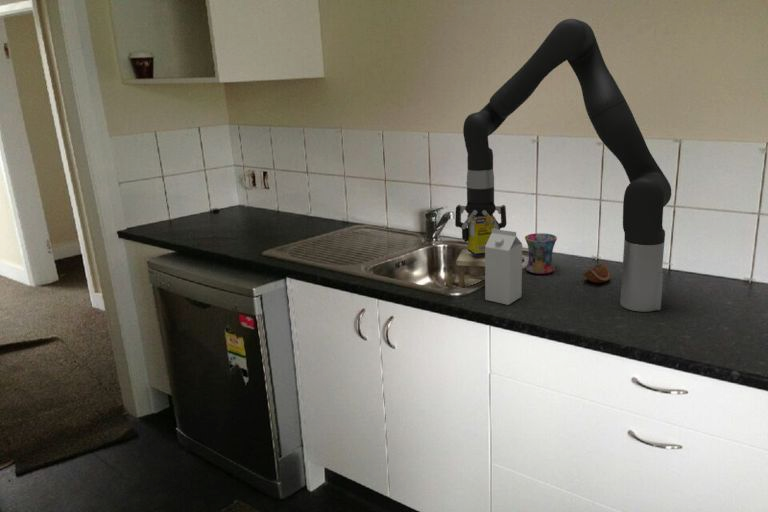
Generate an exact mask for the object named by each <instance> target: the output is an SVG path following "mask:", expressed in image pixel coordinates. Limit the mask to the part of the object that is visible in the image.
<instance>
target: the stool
mask: <svg viewBox="0 0 768 512" xmlns="http://www.w3.org/2000/svg"><path fill="white" fill-rule="evenodd" d="M456 266H458V288H465V279H467V280H470V279H471V280H485V274H470V269H480V270H481V269H483V270H485V255H480V256H475V255H474V254H472V253H471V252H469V251H468V248H462V250H461V251H460V253H459V255H458V257H457V259H456Z"/></svg>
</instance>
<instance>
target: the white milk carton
mask: <svg viewBox="0 0 768 512" xmlns="http://www.w3.org/2000/svg"><path fill="white" fill-rule="evenodd" d="M484 270H485V271H484V273H485V274H484V275H485V279H484V282H485V283H484V288H485V289H484V296H485V298H484V299H485V301H489V302H493V303H498V304H504V305H507V306H508V305H511V304H512V303H513V302H515V301H517V300H518V299H520V298H522V293H523V292H522V289H523V288H522V284H523V283H522V281H523V278H522V277H523V274H522V273H523V243H522V241H521V240H520V239H519V238H518V237H517V231H511V230H504V229H500V230H498V229H495V228H494V229H492V233H491V235H490V237H489V239H488V242H487V244H486V246H485V269H484Z"/></svg>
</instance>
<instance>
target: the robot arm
mask: <svg viewBox="0 0 768 512" xmlns="http://www.w3.org/2000/svg"><path fill="white" fill-rule="evenodd" d="M566 61H567V62H568V64H569V67H571V69H572V70H573V73H574V74H575V76H576V77H577V81H578V82H579V85H580V88H581V94H582V99H583V103H584V107H585V111H586V114H587V116H588V119H589V120H590V123H591V124H592V127H593V129H594V131H595V132H596V134H597V135H598V138H599V140H601V142H602V143H603V145H605V146H606V149H608V150H609V152H611V153H612V154H613V156H615V158H616V159H617V160H618V161H619V163H620V164H621V166H622V168H623V170H624V172H625V174H626V176H627V178H628V181H629V184H628V185H627V186H626V188H625V190H624V193H623V194H624V195H623V202H622V203H623V204H622V206H623V207H622V229H623V233H624V237H623V238H624V239H623V255H622V256H623V257H622V274H621V289H620V306H621V307H622V308H624V309H626V310H630V311H635V312H642V313H643V312H653V311H654V312H655V311H661V309H662V295H663V285H664V283H663V282H664V273H663V264H664V255H665V253H664V251H665V241H666V240H665V239H666V231H665V229H664V228H663V218H664V207H666V205H668V204H669V202H670V200H671V197H672V186H671V183H670V182H669V180H668V179H667V177H666V175H665V174H664V172H663V171H662V169H661V168H660V166H659V164H658V163H657V162H656V161H657V160H655V158H654V156H653V155H652V154H651V151H650V150H649V147H648V146H647V143H646V140H645V138H644V136H643V133H642V132H641V129H640V128H639V125H638V123H637V121H636V119H635V117H634V114H633V112H632V110H631V108H630V106H629V104H628V102H627V100H626V98H625V96H624V95H623V93H622V91H621V89H620V87H619V85H618V84H617V81H616V80H615V78H614V77H613V75H612V73H611V72H610V71H609V68H608V67H607V65H606V62H605V60H604V57H603V54H602V52H601V49H600V47H599V44H598V41H597V37H596V36H595V32H594V30H593V29H592V27H591V26H590V25H589V24H588V23H586V22H585V21H582V20H580V19H576V18H565V19H563V20H562V21H559V23H557V24H556V25H555V26H554V27H553V29H552V30H551V31H550V32H549V34H548V35H547V36H546V37H545V39H544V40H543V42H542V43H541V44H540V45H539V46H538V48H537V49H536V50H535V52H534V53H533V54H532V55H531V57H530V58H528V60H527V61H526V62H525V63H524V64H523V65H522V66H521V67H520V69H519V68H518V69H519V70H517V71H516V72H515V73H514V74H513V75H512V76H511V77H510V78H509V79H507V81H506V82H505V83H503V85H502V86H501V87H499V88H498V90H496V91H495V92H494V93H493V94H492V96H490V99H489V101H488V103H487V104H485V106H484V107H482V108H481V109H480V110H479V111H477V112H472V113H470V114H469V115H468V116H467V117H466V118H465V119H464V122H463V126H462V127H463V128H462V129H463V130H462V133H463V138H464V143H465V148H466V153H467V158H466V160H467V163H466V164H467V170H466V171H467V173H466V205H461V204H458V205H456V207H455V219H454V221H455V223H454V225H455V227H456V228H460V229H461V238H462V240H463V241H464V243H468V224H469V223H470V222H471V220H472V217H475V216H485V217H491V216H494V214H495V212H497V213H498V214H499V215H500V222H498V220H497V219H496V217H495V216H494V220H493V219H492V218H491V223H494V229H498V230H502V229H505V228H506V226H507V208H506V207H507V206H506V205H505V204H502V205H497V206H496V205H495V173H494V152H493V149H492V148H490V146H489V136H491V135H492V134H493V133H494V132H496V130H497V129H499V127H501V125H503V123H504V122H505V121H506V120H507V118H508V117H509V116H511V115H512V114H514V112H515V111H516V110H517V109H519V107H521V106H522V105H523V104H524V103H525V102H526V101H527V100H528V99H529V98H530V97H531V96H532V95H533V93H534V92H535V90H536V89H537V88H538V87H539V85H540V84H541V83H542V82H543V80H544V79H545V78H546V77H547V76H548V75H549V74H550V73H551V72H553V71H554V69H556V68H557V67H559V66H560V65H562V64H564V63H565V62H566ZM464 211H465V212H466V213H467V215H468V214H469V217H468V218H466V219H465V221H464V222H462V214H463V213H464ZM471 216H472V217H471Z"/></svg>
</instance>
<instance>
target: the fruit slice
mask: <svg viewBox="0 0 768 512" xmlns="http://www.w3.org/2000/svg"><path fill="white" fill-rule="evenodd" d="M582 275H583V276H584V277H585V278H586V279H587V280H588V281H590V282H592V283H596V284H602V283H603V284H604V283H606V282H607V281H608V280H610V279H611V271H610V269H609V266H608V265H607V263H606V262H603V263H601V264H598V265H595V266H594V267H593V268H591V269H588V270H587V271H585V272H583V273H582Z"/></svg>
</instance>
